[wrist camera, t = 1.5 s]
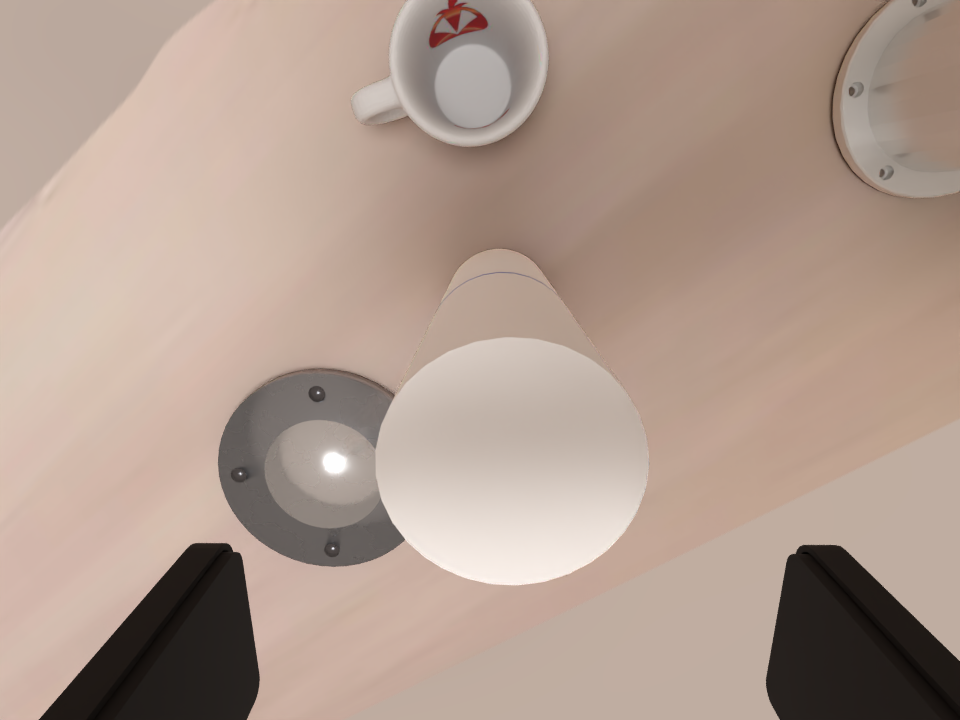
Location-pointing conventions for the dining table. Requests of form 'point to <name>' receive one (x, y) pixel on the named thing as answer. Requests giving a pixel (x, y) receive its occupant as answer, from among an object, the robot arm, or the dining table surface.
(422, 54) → the cup
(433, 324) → the cylindrical container
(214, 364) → the dining table surface
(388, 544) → the flange plate
